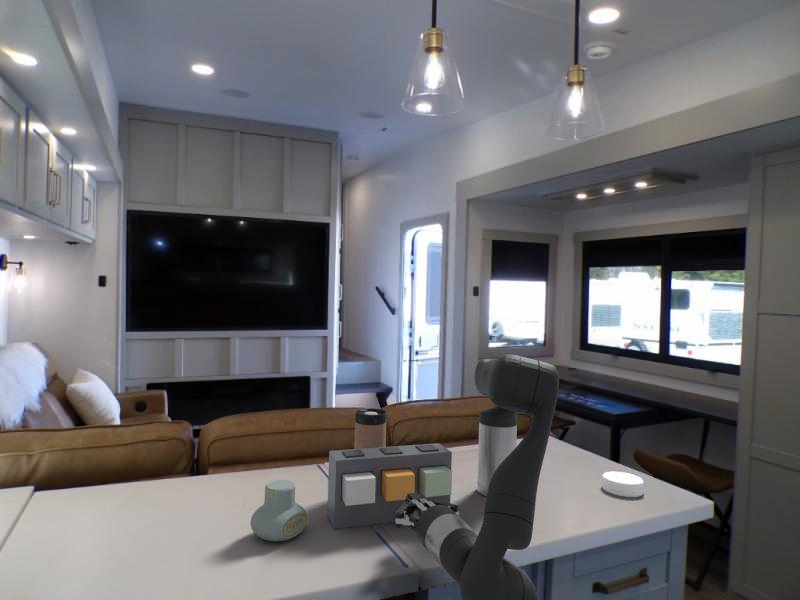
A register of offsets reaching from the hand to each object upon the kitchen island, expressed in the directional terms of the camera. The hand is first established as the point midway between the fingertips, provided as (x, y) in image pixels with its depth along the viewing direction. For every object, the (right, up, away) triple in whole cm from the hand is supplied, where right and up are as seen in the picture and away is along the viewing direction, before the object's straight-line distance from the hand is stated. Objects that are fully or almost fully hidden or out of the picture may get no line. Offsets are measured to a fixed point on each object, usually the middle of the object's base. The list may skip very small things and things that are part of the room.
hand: (410, 497), depth 101 cm
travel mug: (-10, -8, +24) cm, 27 cm away
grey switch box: (-4, -8, +12) cm, 15 cm away
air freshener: (-26, -8, +1) cm, 27 cm away
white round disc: (+55, -11, +32) cm, 65 cm away
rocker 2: (+5, -3, +11) cm, 13 cm away
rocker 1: (-11, -2, +6) cm, 13 cm away
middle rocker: (-3, -2, +8) cm, 9 cm away
